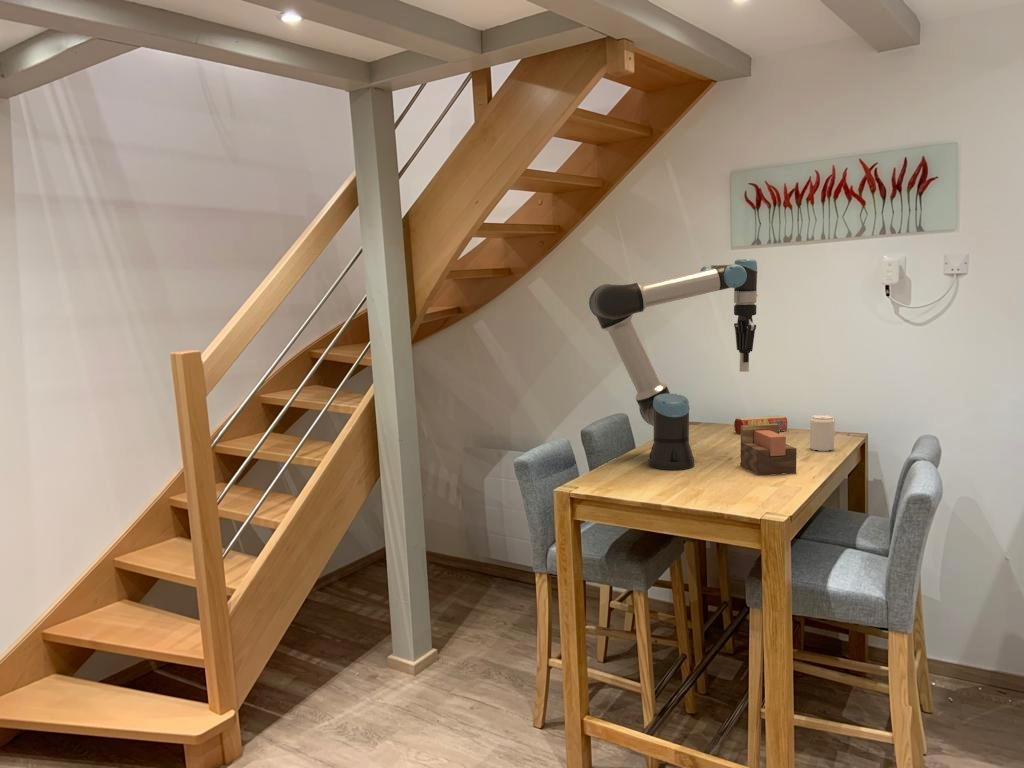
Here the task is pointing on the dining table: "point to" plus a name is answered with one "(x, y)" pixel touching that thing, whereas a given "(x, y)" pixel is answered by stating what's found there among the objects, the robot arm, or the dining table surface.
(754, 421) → the snack package
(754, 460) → the guide block
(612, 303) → the robot arm
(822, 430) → the beverage can
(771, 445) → the peg
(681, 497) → the dining table surface
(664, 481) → the dining table surface
